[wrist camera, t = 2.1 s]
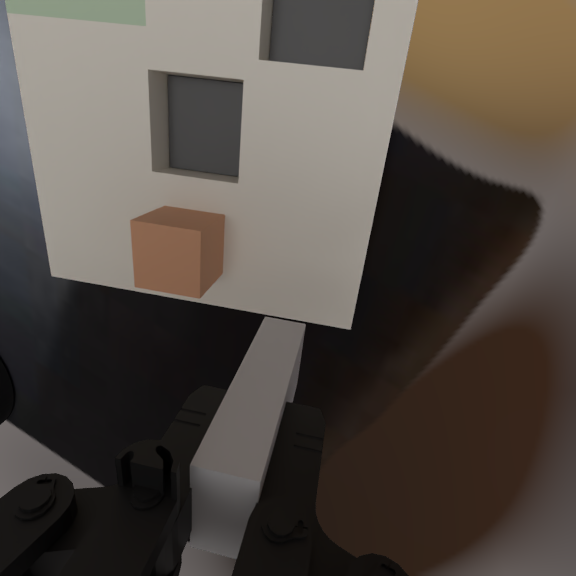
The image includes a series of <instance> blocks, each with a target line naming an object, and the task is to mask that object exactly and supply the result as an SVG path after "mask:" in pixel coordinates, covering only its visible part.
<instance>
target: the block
mask: <svg viewBox="0 0 576 576" xmlns="http://www.w3.org/2000/svg"><path fill="white" fill-rule="evenodd" d="M130 227H131V241H132V256H133V270H134V285H135V287H137V288H142V289H148V290H154V291H159V292H165V293H170V294H176V295H182V296H187V297H193V298H199V299H200V298H201V297H202V296H203V295H204V294H205V293H206V292H207V290H208V289H209V288H210V287H211V286H212V285H213V284H214V283H215V282H216V281H217V279H218V278H219V277H220V276H221V275H222V274H223V254H224V228H225V215H224V214H217V213H211V212H204V211H197V210H191V209H184V208H178V207H171V206H162V207H160V208H158V209H155V210H153V211H150V212H148V213H146V214H143V215H141V216H139V217H136V218H134V219H131V220H130Z"/></svg>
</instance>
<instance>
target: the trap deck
mask: <svg viewBox="0 0 576 576" xmlns="http://www.w3.org/2000/svg"><path fill="white" fill-rule="evenodd" d="M273 2H274V3H273ZM5 3H6V9H7V15H8V21H9V27H10V33H11V39H12V45H13V51H14V57H15V63H16V68H17V74H18V80H19V86H20V92H21V98H22V104H23V110H24V116H25V122H26V128H27V134H28V140H29V145H30V151H31V157H32V163H33V169H34V175H35V181H36V187H37V193H38V199H39V205H40V211H41V217H42V222H43V228H44V234H45V240H46V246H47V252H48V258H49V264H50V270H51V276H54V277H60V278H65V279H71V280H76V281H82V282H87V283H93V284H99V285H104V286H110V287H115V288H121V289H126V290H132V291H138V292H143V293H149V294H154V295H160V296H165V297H171V298H177V299H182V300H188V301H193V302H199V303H204V304H210V305H216V306H221V307H227V308H232V309H238V310H243V311H249V312H255V313H260V314H266V315H271V316H277V317H282V318H288V319H294V320H299V321H305V322H310V323H316V324H321V325H327V326H333V327H338V328H344V329H349V330H351V325H352V320H353V315H354V310H355V305H356V301H357V296H358V291H359V286H360V281H361V276H362V271H363V267H364V262H365V257H366V252H367V247H368V242H369V237H370V233H371V228H372V223H373V218H374V213H375V208H376V203H377V199H378V194H379V189H380V184H381V179H382V174H383V170H384V165H385V160H386V155H387V150H388V145H389V140H390V136H391V131H392V126H393V121H394V116H395V111H396V106H397V102H398V97H399V92H400V87H401V82H402V77H403V72H404V68H405V63H406V58H407V53H408V48H409V43H410V38H411V33H412V29H413V24H414V18H415V14H416V9H417V4H418V0H375V3H374V0H5ZM373 6H374V9H373ZM372 12H373V15H372ZM272 16H273V17H272ZM371 18H372V21H371ZM370 24H371V27H370ZM271 29H272V30H271ZM369 30H370V33H369ZM368 36H369V39H368ZM270 42H271V43H270ZM367 42H368V45H367ZM366 48H367V51H366ZM365 54H366V57H365ZM269 56H270V57H269ZM364 60H365V63H364ZM363 66H364V70H363ZM170 75H176V76H170ZM179 76H186V77H179ZM188 77H195V78H188ZM197 78H204V79H197ZM206 79H213V80H206ZM215 80H222V81H215ZM224 81H231V82H224ZM233 82H240V83H233ZM242 83H243V84H242ZM172 167H174V168H172ZM179 168H181V169H179ZM186 169H188V170H186ZM194 170H196V171H194ZM201 171H203V172H201ZM208 172H210V173H208ZM215 173H217V174H215ZM222 174H224V175H222ZM229 175H231V176H229ZM237 176H239V177H237ZM162 206H171V207H178V208H184V209H191V210H197V211H204V212H211V213H217V214H224V215H225V228H224V254H223V274H222V275H221V276H220V277H219V278H218V279H217V281H216V282H215V283H214V284H213V285H212V286H211V287H210V288H209V289H208V290H207V292H206V293H205V294H204V295H203V296H202V297H201V298H200V299H199V298H193V297H187V296H182V295H176V294H170V293H165V292H159V291H154V290H148V289H142V288H137V287H135V285H134V270H133V256H132V241H131V227H130V220H131V219H134V218H136V217H139V216H141V215H143V214H146V213H148V212H150V211H153V210H155V209H158V208H160V207H162Z"/></svg>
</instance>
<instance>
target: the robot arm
mask: <svg viewBox="0 0 576 576" xmlns="http://www.w3.org/2000/svg"><path fill="white" fill-rule="evenodd" d="M305 326H306V324H302V323H297V322H291V321H286V320H281V319H275V318H270V317H265V318H264V320H263V322H262V324H261V326H260V328H259V330H258V332H257V334H256V336H255V338H254V340H253V342H252V343H251V345H250V347H249V349H248V351H247V353H246V355H245V357H244V359H243V361H242V363H241V365H240V367H239V369H238V371H237V373H236V375H235V377H234V379H233V381H232V383H231V385H230V387H229V389H228V390H225V389H220V388H215V387H211V386H206V385H203V386H201V387H200V388H199V389H197V390H196V391H194V392H193V393H192V394H190V395H189V397H188V398H187V400H186V402H185V403H184V405H183V406H182V408H181V411H179V413H178V414H177V416H176V417H175V419H174V422H172V424H171V425H170V427H169V428H168V430H167V431H166V433H165V434H164V436H163V438H162V439H161V440H150V439H149V440H144V441H140V442H136V443H134V444H132V445H130V446H128V447H127V448H125V449H124V450H122V451H121V452H120V453H119V454H118V455H117V456H116V457H115V463H116V471H117V480H118V484H116V485H112V486H107V487H98V488H83V489H74V487H73V483H72V482H71V481H70V480H69V479H68V478H67V477H66V476H63V475H60V474H56V473H54V474H42V475H39V476H36V477H33V478H30V479H28V480H26V481H24V482H23V483H21V484H19V485H18V486H16V487H14V488H13V489H12V490H10V491H9V492H8V493H7V494H5V495H4V496H3V497H1V498H0V576H179V572H180V568H181V563H182V562H181V560H182V559H181V555H182V552H183V550H184V547H185V545H186V543H187V540H188V538H189V536H190V547H193V548H197V549H200V550H204V551H208V552H212V553H215V554H219V555H223V556H226V557H230V558H234V559H237V560H236V564H235V567H234V570H233V574H232V576H408V575H407V574H406V572H405V571H404V570H403V569H402V568H401V567H400V566H399V565H398V564H397V563H395V562H394V561H392V560H391V559H389V558H387V557H386V556H382V555H377V554H373V553H371V554H366V555H362V556H359V557H358V558H356V557H355V556H353V555H351V554H350V553H348V552H347V551H345V550H344V549H342V548H341V547H339V546H338V545H336V544H335V543H334V542H333V541H331V540H330V539H329V538H328V536H327V535H326V534H325V533H324V532H323V530H322V528H321V526H320V524H319V522H318V520H317V516H316V510H315V509H316V507H315V506H316V505H315V502H316V494H317V487H318V479H319V471H320V463H321V455H322V447H323V439H324V431H325V421H324V418H323V415H322V413H321V410H320V409H319V408H315V407H310V406H305V405H300V404H296V403H292V402H293V398H294V394H295V390H296V386H297V380H298V373H299V367H300V360H301V353H302V346H303V339H304V333H305ZM13 402H14V394H13V387H12V383H11V380H10V377H9V375H8V373H7V370H6V368H5V367H4V365H3V363H2V361H1V360H0V424H1V423H3V422H4V421H5V420H6V419H7V418H8V416H9V415H10V413H11V411H12V408H13Z"/></svg>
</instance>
